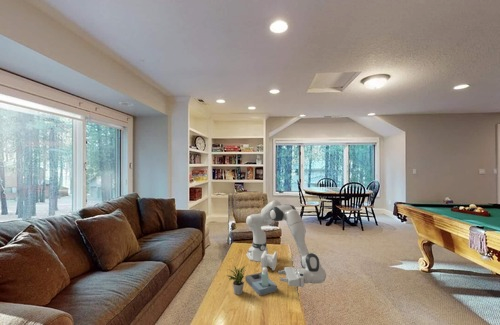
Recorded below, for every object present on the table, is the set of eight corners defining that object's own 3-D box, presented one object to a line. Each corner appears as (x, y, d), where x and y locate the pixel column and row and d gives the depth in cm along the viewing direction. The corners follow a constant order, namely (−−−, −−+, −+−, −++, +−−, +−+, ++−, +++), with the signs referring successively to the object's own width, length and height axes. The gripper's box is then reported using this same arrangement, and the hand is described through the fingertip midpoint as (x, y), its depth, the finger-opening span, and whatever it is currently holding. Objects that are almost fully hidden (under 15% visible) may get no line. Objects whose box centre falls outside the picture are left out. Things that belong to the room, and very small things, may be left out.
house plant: (235, 284, 164) (235, 260, 165) (253, 289, 158) (253, 264, 158) (223, 294, 152) (223, 268, 152) (242, 299, 145) (242, 272, 145)
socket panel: (245, 280, 169) (245, 275, 169) (261, 277, 175) (261, 272, 175) (259, 295, 150) (259, 289, 150) (277, 291, 156) (277, 285, 156)
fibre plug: (261, 288, 159) (261, 267, 159) (267, 288, 159) (267, 267, 159) (261, 291, 155) (262, 269, 155) (268, 291, 155) (268, 269, 155)
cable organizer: (274, 272, 182) (274, 257, 182) (260, 271, 185) (260, 256, 185) (276, 264, 196) (277, 250, 196) (264, 263, 199) (264, 249, 199)
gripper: (297, 264, 167) (277, 264, 167) (303, 278, 147) (281, 278, 147) (297, 273, 167) (277, 273, 167) (303, 288, 147) (281, 288, 147)
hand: (279, 275), depth 157 cm, fingers open, 8 cm apart
